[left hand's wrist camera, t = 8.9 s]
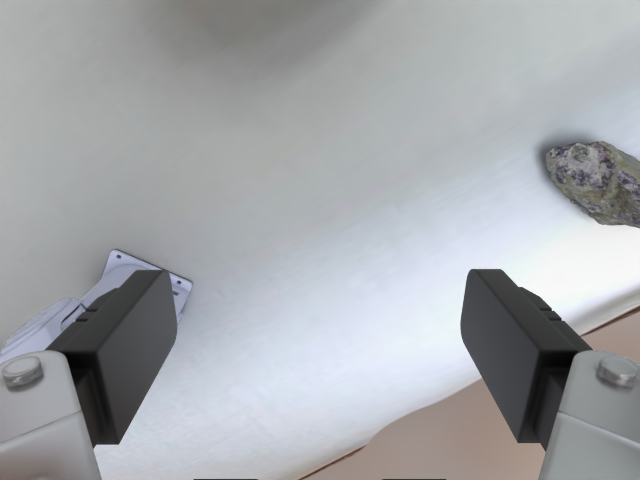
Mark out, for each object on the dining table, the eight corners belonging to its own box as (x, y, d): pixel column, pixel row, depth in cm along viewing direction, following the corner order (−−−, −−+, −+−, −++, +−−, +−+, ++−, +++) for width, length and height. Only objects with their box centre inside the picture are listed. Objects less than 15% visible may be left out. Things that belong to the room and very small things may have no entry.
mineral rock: (530, 149, 41) (592, 170, 32) (636, 87, 39) (735, 90, 30) (575, 248, 45) (642, 292, 36) (673, 197, 43) (771, 229, 34)
